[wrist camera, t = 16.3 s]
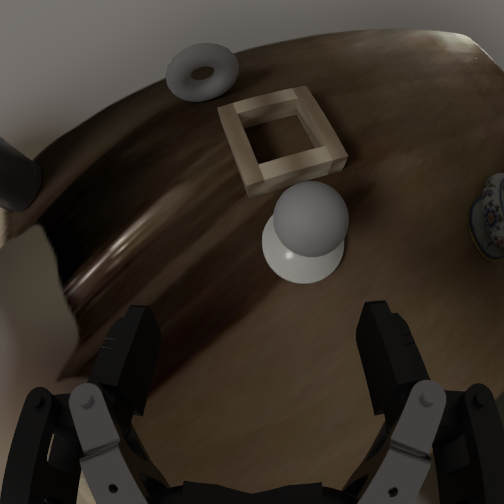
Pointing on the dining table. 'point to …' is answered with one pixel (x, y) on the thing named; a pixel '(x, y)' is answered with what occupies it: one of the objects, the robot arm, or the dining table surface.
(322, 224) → the lightbulb
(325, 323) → the dining table surface
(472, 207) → the apothecary jar
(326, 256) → the white round part
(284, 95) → the pocket
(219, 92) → the donut
